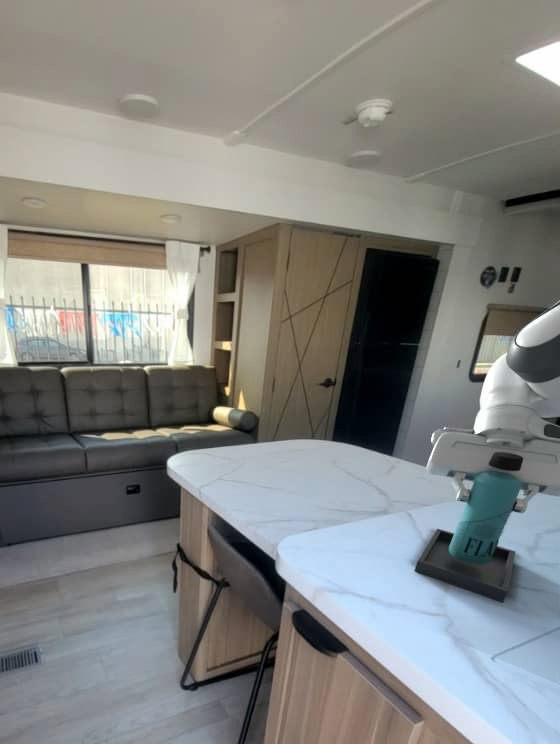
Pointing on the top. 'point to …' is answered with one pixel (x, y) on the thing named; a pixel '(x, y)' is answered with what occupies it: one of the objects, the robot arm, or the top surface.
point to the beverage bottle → (487, 510)
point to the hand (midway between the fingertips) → (489, 505)
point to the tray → (467, 568)
